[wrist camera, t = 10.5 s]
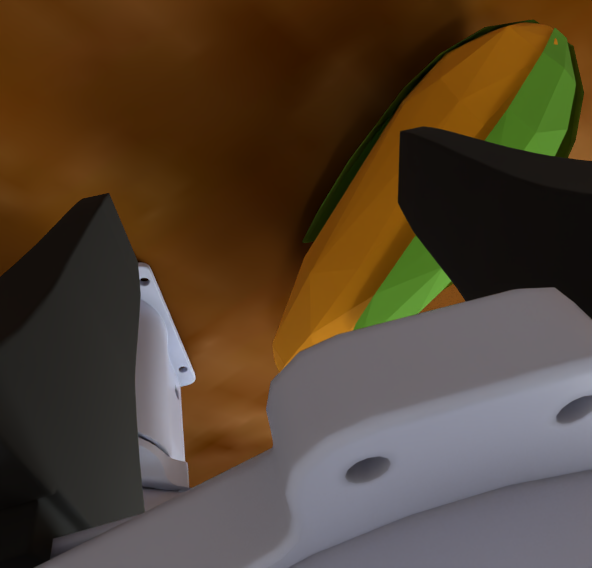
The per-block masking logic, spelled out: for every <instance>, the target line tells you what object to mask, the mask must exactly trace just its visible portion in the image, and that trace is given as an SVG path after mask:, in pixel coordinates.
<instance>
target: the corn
mask: <svg viewBox="0 0 592 568" xmlns="http://www.w3.org/2000/svg"><path fill="white" fill-rule="evenodd" d="M583 96H584V91H583V86H582V82H581V77H580V73H579V69H578V64H577V60H576V55H575V51H574V46H573V45H571V44H569V43H568V42H567V38H566V37H565V36H564V35H562V34H561V33H560V32H559V31H558V30H557V29H556V28H554V30H553V29H552V28H551V27H550V26H547V25H543V24H539V23H538V22H536V21H535V20H527V21H521V22H514V23H508V24H502V25H496V26H489V27H484V28H483V29H481V30H479V31H478V32H476V33H474V34H473V35H471V36H469V37H467V38H466V39H464V40H462V41H461V42H459V43H457V44H456V45H454V46H452V47H450V48H449V49H447V50H445V51H444V52H442V53H440V54H439V55H438V56H437V57H436V58H435V59H434V60H433V61H432V62H430V63H429V64H428V65H427V66H426V67H425V68H424V69H423V70H422V71H421V72H420V73H419V74H418V75H417V76H416V77H415V78H414V79H412V80H411V81H410V82H409V83H408V84H407V85H406V86H405V87H404V88H403V89H402V91H401V92H400V93H399V94H398V96H397V97H396V98H395V100H394V101H393V102H392V104H391V105H390V106H389V108H388V109H387V110H386V112H385V113H384V114H383V116H382V117H381V118H380V120H379V121H378V122H377V124H376V125H375V126H374V128H373V129H372V130H371V132H370V133H369V134H368V136H367V137H366V138H365V139H364V141H363V142H362V143H361V145H360V146H359V147H358V149H357V150H356V151H355V153H354V154H353V155H352V157H351V158H350V159H349V161H348V162H347V164H346V165H345V167H344V169H343V170H342V172H341V174H340V175H339V177H338V179H337V180H336V182H335V184H334V185H333V187H332V189H331V190H330V192H329V194H328V195H327V197H326V199H325V200H324V202H323V204H322V205H321V207H320V208H319V210H318V212H317V214H316V216H315V218H314V220H313V221H312V223H311V225H310V227H309V229H308V231H307V233H306V235H305V237H304V240H303V243H308V242H312V241H314V240H315V241H314V243H313V244H312V246H311V247H310V249H309V251H308V252H307V254H306V255H305V257H304V259H303V262H302V265H301V268H300V270H299V273H298V276H297V278H296V281H295V284H294V286H293V289H292V292H291V294H290V297H289V300H288V303H287V305H286V308H285V311H284V313H283V316H282V319H281V321H280V324H279V327H278V330H277V332H276V335H275V338H274V340H273V343H272V346H273V354H274V361H275V363H276V366H277V369H278V371H279V373H280V372H281V371H282V370H283V368H284V367H285V366H286V365H287V364H288V363H289V362H290V361H291V360H292V359H293V358H294V357H295V356H296V355H297V354H298V353H299V352H300V351H302V350H304V349H306V348H309V347H311V346H313V345H315V344H317V343H320V342H322V341H324V340H326V339H328V338H331V337H333V336H335V335H337V334H341V333H345V332H349V331H353V330H357V329H361V328H365V327H369V326H373V325H376V324H380V323H384V322H388V321H392V320H396V319H400V318H404V317H408V316H412V315H415V314H418V313H419V312H420V311H421V310H422V309H423V308H424V307H425V306H426V305H427V304H428V303H429V302H431V301H432V300H433V299H434V298H435V297H436V296H437V295H438V294H439V293H440V292H441V291H442V290H444V289H445V288H447V287H449V286H450V285H452V284H453V282H452V281H451V280H450V279H449V277H448V276H447V275H446V273H445V272H444V271H443V270H442V268H441V267H440V266H439V264H438V263H437V262H436V261H435V259H434V258H433V257H432V255H431V254H430V253H429V252H428V250H427V249H426V248H425V246H424V245H423V244H422V242H421V241H420V240H419V239H418V237H417V236H416V234H415V233H414V232H413V230H412V229H411V227H410V225H409V223H408V221H407V220H406V218H405V216H404V214H403V212H402V210H401V208H400V206H399V204H398V176H399V144H400V131H403V130H408V129H413V128H417V127H422V126H425V127H433V128H438V129H443V130H447V131H451V132H455V133H458V134H462V135H465V136H469V137H473V138H476V139H480V140H484V141H487V142H491V143H495V144H499V145H503V146H507V147H511V148H515V149H520V150H524V151H529V152H533V153H538V154H544V155H549V156H556V157H563V158H568V156H569V154H570V152H571V150H572V147H573V145H574V143H575V140H576V135H577V129H578V124H579V118H580V112H581V107H582V101H583Z"/></svg>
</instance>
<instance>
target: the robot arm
mask: <svg viewBox="0 0 592 568" xmlns="http://www.w3.org/2000/svg"><path fill="white" fill-rule="evenodd" d="M398 204H399V206H400V208H401V210H402V212H403V214H404V216H405V218H406V220H407V221H408V223H409V225H410V227H411V229H412V230H413V232H414V233H415V234H416V236H417V237H418V239H419V240H420V241H421V242H422V244H423V245H424V246H425V248H426V249H427V250H428V252H429V253H430V254H431V255H432V257H433V258H434V259H435V261H436V262H437V263H438V264H439V266H440V267H441V268H442V270H443V271H444V272H445V273H446V275H447V276H448V277H449V279H450V280H451V281H452V282H453V284H454V285H455V286H456V288H457V289H458V290H459V292H460V293H461V295H462V296H463V298H464V299H465V301H466V302H462V303H458V304H455V305H451V306H447V307H443V308H439V309H435V310H431V311H427V312H423V313H419V314H415V315H412V316H408V317H404V318H400V319H396V320H392V321H388V322H384V323H380V324H376V325H373V326H369V327H365V328H361V329H357V330H353V331H349V332H345V333H341V334H337V335H335V336H333V337H331V338H328V339H326V340H324V341H322V342H320V343H317V344H315V345H313V346H311V347H309V348H306V349H304V350H302V351H300V352H299V353H298V354H297V355H296V356H295V357H294V358H293V359H292V360H291V361H290V362H289V363H288V364H287V365H286V366H285V367H284V368H283V370H282V371H281V372H280V373H279V374H278V375H277V376H276V377H275V378H274V379H273V380H272V381H271V384H270V390H269V396H268V402H267V408H266V411H267V415H268V420H269V424H270V429H271V433H272V438H273V447H272V448H271V449H269V450H267V451H265V452H263V453H261V454H259V455H257V456H255V457H253V458H251V459H249V460H247V461H245V462H243V463H241V464H239V465H237V466H235V467H233V468H231V469H229V470H227V471H225V472H223V473H221V474H219V475H217V476H215V477H213V478H211V479H209V480H207V481H205V482H203V483H201V484H199V485H197V486H195V487H193V488H189V476H188V463H187V462H185V452H184V436H183V421H182V406H181V390H180V387H181V386H185V385H189V384H191V383H193V382H194V381H195V372H194V370H193V368H192V365H191V363H190V360H189V358H188V356H187V353H186V351H185V348H184V346H183V344H182V341H181V339H180V337H179V334H178V332H177V329H176V327H175V325H174V322H173V320H172V317H171V315H170V313H169V310H168V308H167V305H166V303H165V301H164V298H163V296H162V294H161V291H160V289H159V286H158V284H157V282H156V279H155V277H154V274H153V272H152V270H151V268H150V266H149V265H148V264H146V263H142V262H140V263H138V261H137V259H136V256H135V254H134V252H133V249H132V247H131V244H130V242H129V240H128V237H127V235H126V233H125V230H124V228H123V225H122V223H121V221H120V218H119V216H118V214H117V211H116V209H115V206H114V204H113V202H112V199H111V197H110V195H109V193H107V194H102V195H98V196H93V197H88V198H84V199H82V200H80V201H79V202H78V203H77V204H75V205H74V206H73V207H72V208H71V209H70V210H69V211H68V212H67V213H66V214H65V215H64V216H63V217H62V219H61V220H60V221H59V222H58V223H57V224H56V225H55V226H54V227H53V228H52V229H51V230H50V231H49V232H48V233H47V234H46V235H45V236H44V237H43V238H42V239H41V240H40V241H39V242H38V243H37V244H36V245H35V246H34V247H33V248H32V249H31V250H30V251H29V252H27V253H26V254H25V255H24V256H23V257H22V258H21V259H20V260H19V261H18V262H17V263H16V264H15V265H13V266H12V267H11V268H10V269H9V270H8V271H7V272H5V273H4V274H3V275H2V276H1V277H0V568H592V161H585V160H576V159H569V158H563V157H556V156H549V155H544V154H538V153H533V152H529V151H524V150H520V149H515V148H511V147H507V146H503V145H499V144H495V143H491V142H487V141H484V140H480V139H476V138H473V137H469V136H465V135H462V134H458V133H455V132H451V131H447V130H443V129H438V128H433V127H425V126H422V127H417V128H413V129H408V130H403V131H400V144H399V176H398ZM141 278H147V279H148V281H141V280H140V279H141ZM181 367H184V368H181Z"/></svg>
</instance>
